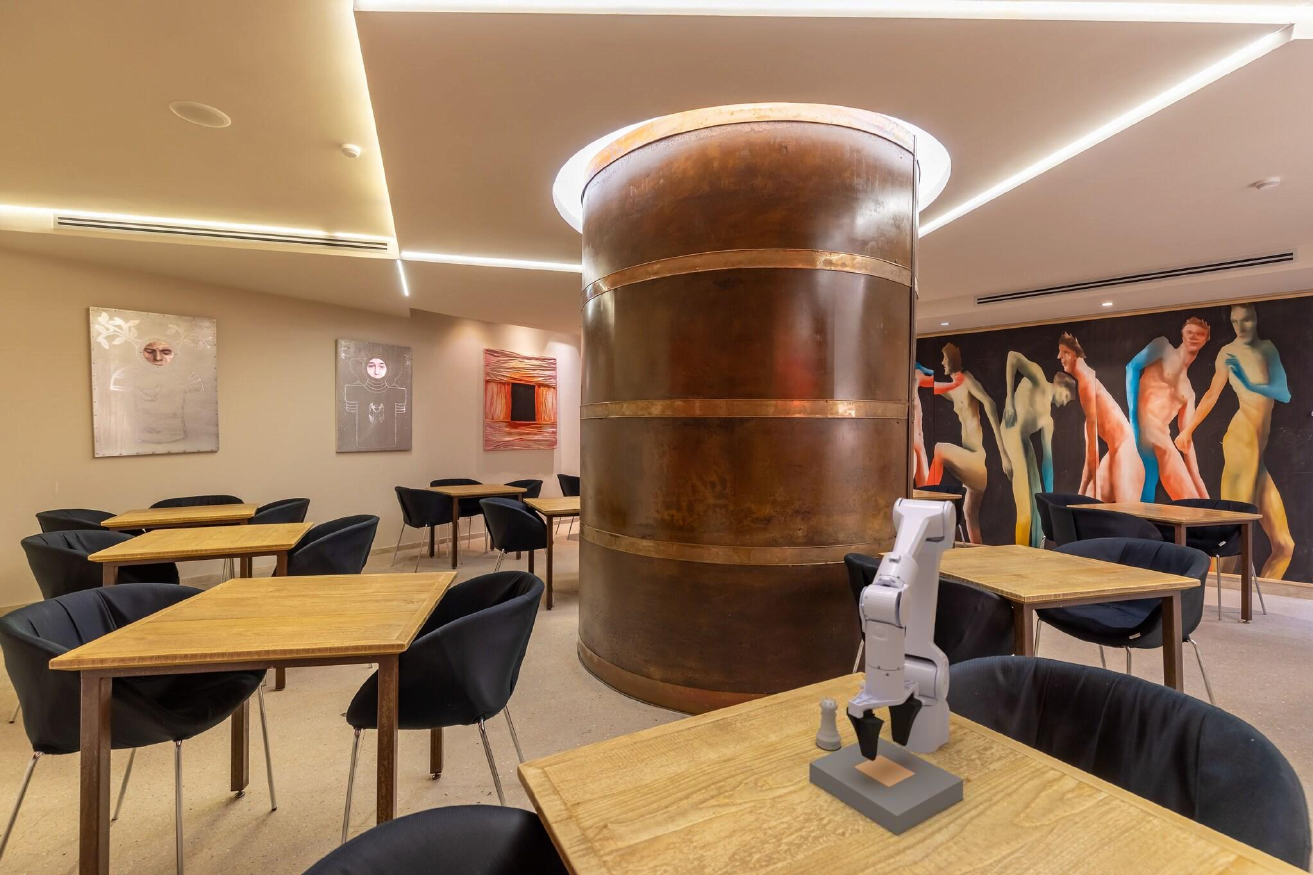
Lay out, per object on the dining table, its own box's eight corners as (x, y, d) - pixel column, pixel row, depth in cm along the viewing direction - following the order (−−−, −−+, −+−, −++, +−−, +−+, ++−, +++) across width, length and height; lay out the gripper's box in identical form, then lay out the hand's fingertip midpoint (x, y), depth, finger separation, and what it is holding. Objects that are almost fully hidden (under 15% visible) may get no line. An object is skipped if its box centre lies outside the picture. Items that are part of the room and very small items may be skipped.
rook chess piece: (842, 752, 106) (843, 706, 106) (816, 750, 107) (816, 704, 107) (839, 739, 110) (840, 695, 110) (814, 737, 111) (814, 693, 111)
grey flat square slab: (874, 751, 106) (874, 734, 106) (963, 798, 93) (963, 778, 93) (809, 781, 97) (809, 761, 97) (896, 837, 84) (897, 815, 84)
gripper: (891, 646, 102) (891, 726, 102) (832, 664, 94) (832, 752, 94) (930, 659, 96) (930, 745, 96) (870, 680, 88) (870, 773, 88)
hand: (884, 750), depth 95 cm, fingers open, 7 cm apart
